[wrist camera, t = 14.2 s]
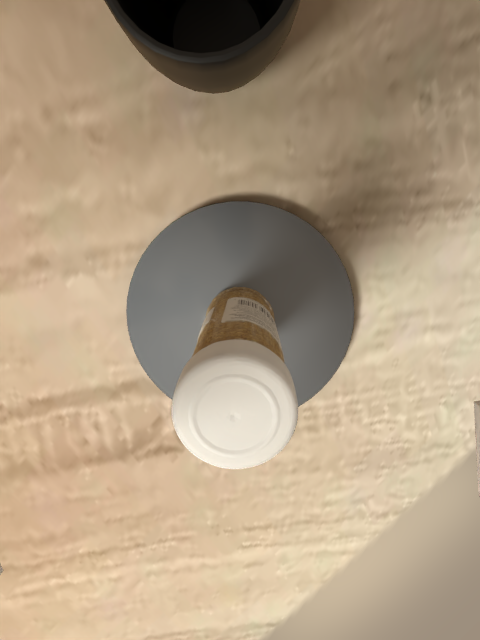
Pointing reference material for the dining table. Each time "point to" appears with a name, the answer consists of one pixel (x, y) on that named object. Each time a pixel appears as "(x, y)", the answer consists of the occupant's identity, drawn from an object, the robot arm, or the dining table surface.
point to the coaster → (241, 271)
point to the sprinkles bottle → (236, 385)
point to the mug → (207, 37)
